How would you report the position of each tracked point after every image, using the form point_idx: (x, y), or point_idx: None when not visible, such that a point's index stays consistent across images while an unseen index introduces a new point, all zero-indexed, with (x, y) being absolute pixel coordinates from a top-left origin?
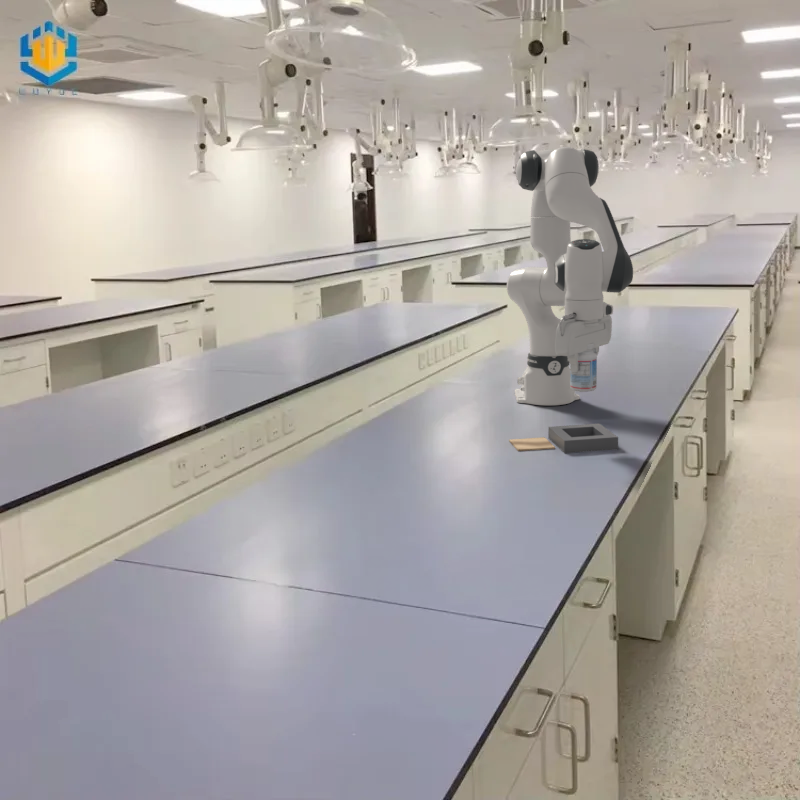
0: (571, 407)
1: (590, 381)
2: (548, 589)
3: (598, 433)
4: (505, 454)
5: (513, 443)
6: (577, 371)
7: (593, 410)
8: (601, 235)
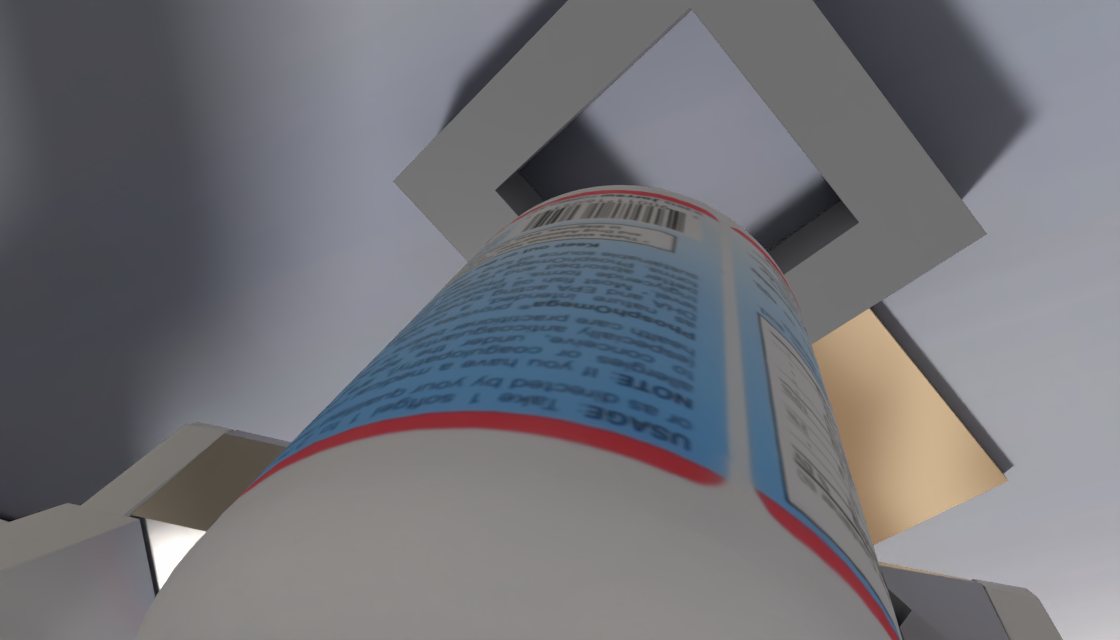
0: (42, 489)
1: (744, 264)
2: None
3: (589, 102)
4: (1101, 515)
5: (875, 539)
6: (959, 579)
7: (8, 379)
8: None
